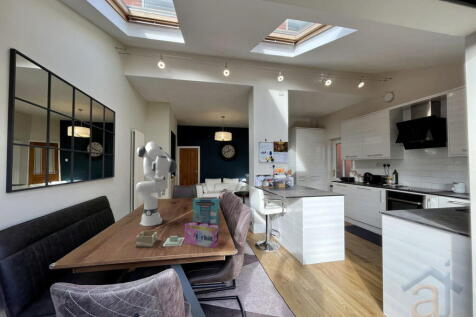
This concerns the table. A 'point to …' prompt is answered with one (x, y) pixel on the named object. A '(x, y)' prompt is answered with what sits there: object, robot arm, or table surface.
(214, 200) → the game box
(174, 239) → the lid
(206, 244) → the gum box
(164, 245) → the mat
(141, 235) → the box
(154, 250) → the table surface
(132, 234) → the table surface
